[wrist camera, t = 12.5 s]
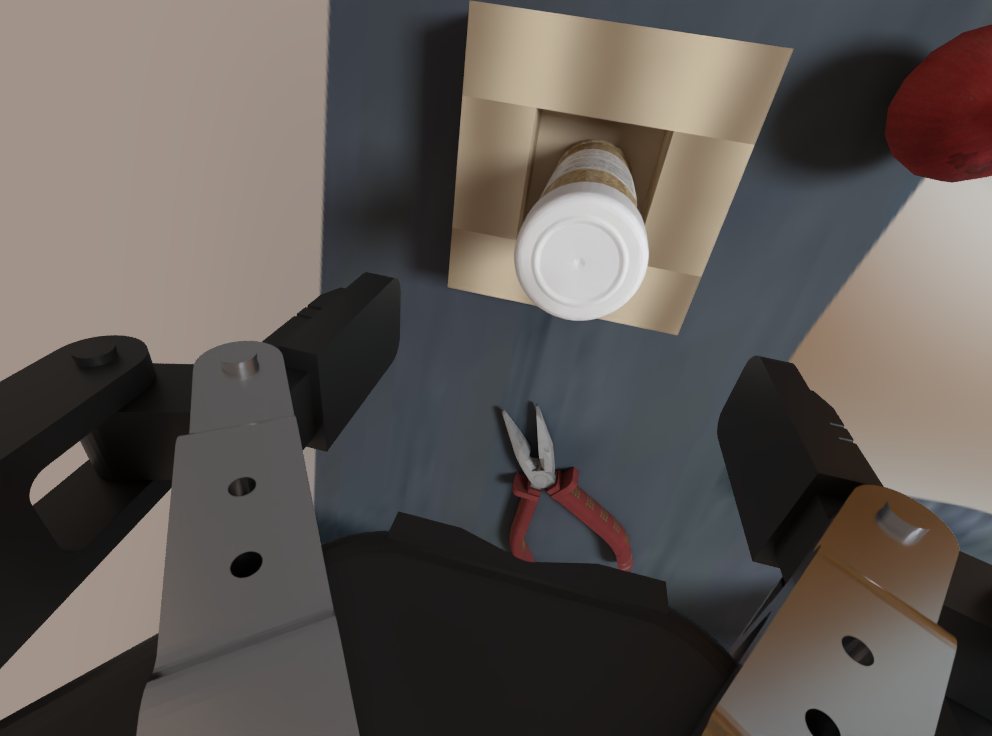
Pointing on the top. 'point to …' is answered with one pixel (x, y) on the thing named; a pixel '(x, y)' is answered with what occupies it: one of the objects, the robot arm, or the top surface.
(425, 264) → the top surface
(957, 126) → the onion
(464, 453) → the top surface
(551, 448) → the pliers
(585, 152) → the sprinkles bottle
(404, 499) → the top surface
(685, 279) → the holder
